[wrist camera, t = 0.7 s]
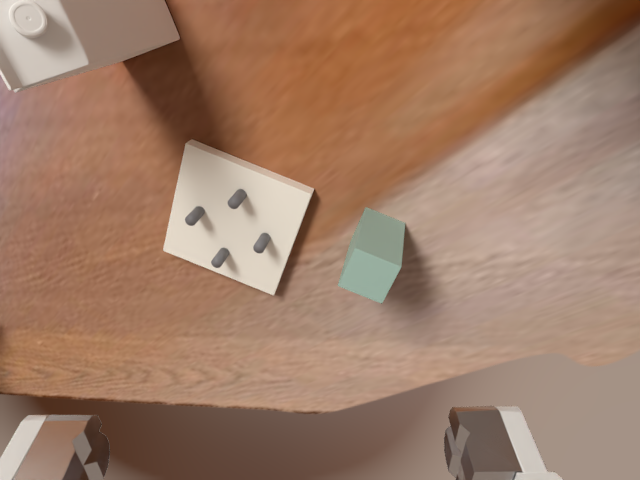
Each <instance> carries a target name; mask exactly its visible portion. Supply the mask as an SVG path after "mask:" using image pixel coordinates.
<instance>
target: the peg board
mask: <svg viewBox="0 0 640 480" xmlns="http://www.w3.org/2000/svg"><path fill="white" fill-rule="evenodd" d="M313 191H314V188H311V187H309V186H306V185H304V184H301V183H299V182H296V181H294V180H291V179H289V178H287V177H284V176H282V175H279V174H277V173H274V172H272V171H269V170H267V169H264V168H262V167H259V166H257V165H254V164H252V163H250V162H247V161H245V160H242V159H240V158H237V157H235V156H232V155H230V154H227V153H225V152H222V151H220V150H217V149H215V148H213V147H210V146H208V145H205V144H203V143H200V142H198V141H195V140H193V139H191V140H190V141H188V142H187V143H186V144H185V149H184V153H183V158H182V163H181V168H180V172H179V177H178V182H177V187H176V191H175V196H174V201H173V206H172V210H171V215H170V220H169V225H168V229H167V234H166V239H165V244H164V248H163V251H165V252H168V253H170V254H173V255H175V256H178V257H180V258H183V259H185V260H187V261H190V262H192V263H195V264H197V265H200V266H202V267H205V268H207V269H210V270H212V271H215V272H217V273H220V274H222V275H225V276H227V277H229V278H232V279H234V280H237V281H239V282H242V283H244V284H247V285H249V286H252V287H254V288H257V289H259V290H262V291H264V292H266V293H269V294H271V295H274V294H275V292H276V290H277V287H278V285H279V282H280V279H281V277H282V274H283V271H284V269H285V266H286V263H287V261H288V258H289V255H290V253H291V250H292V247H293V245H294V242H295V239H296V237H297V234H298V231H299V229H300V226H301V223H302V221H303V218H304V215H305V213H306V210H307V207H308V205H309V202H310V199H311V197H312V194H313Z"/></svg>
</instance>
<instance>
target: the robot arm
mask: <svg viewBox="0 0 640 480" xmlns="http://www.w3.org/2000/svg"><path fill="white" fill-rule="evenodd" d="M448 418H449V421H450V425H451V426H450V427H448V428H447V429H446V431H445V437H444V451H445V457H446V463H447V467H448V471H449V472H450V473H451V474H452V475H453V476H454V477H455V478H456V480H564V479H562V478H561V477H560V476H559V475H558V474H557V473H555V472H548V470H547V468H546V466H545V464H544V461H543V459H542V457H541V454H540V452H539V450H538V447H537V445H536V443H535V441H534V438H533V436H532V434H531V431H530V429H529V427H528V425H527V422H526V420H525V418H524V415H523V413H522V411H521V409H519V407H517V406H498V407H494V406H480V407H479V406H477V407H452V409H451V410H450V413H449V417H448ZM101 425H102V424H101V421H100V419H99V417H98V415H28V416H27V417H26V418H25V419H24V420H23V421H22V422H21V423H20V425H19V427H18V428H17V430H16V432H15V434H14V435H13V437H12V439H11V440H10V442H9V444H8V446H7V448H6V449H5V451H4V453H3V455H2V456H1V458H0V480H102V479H104V476H105V473H106V470H107V468H108V463H109V456H110V447H109V441H108V439H107V436H105V435H104V434H102V433H101V432H99V430H100V427H101Z"/></svg>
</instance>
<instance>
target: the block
mask: <svg viewBox="0 0 640 480" xmlns="http://www.w3.org/2000/svg"><path fill="white" fill-rule="evenodd" d="M404 232H405V223H404V222H401V221H399V220H396V219H394V218H391V217H389V216H387V215H384V214H382V213H379V212H377V211H374V210H372V209H369V208H367V207H366V208H365V210H364V212H363V215H362V217H361V219H360V221H359V223H358V226H357V228H356V230H355V232H354V235H353V237H352V239H351V242H350V245H349V249H348V252H347V256H346V259H345V262H344V266H343V269H342V273H341V276H340V280H339V283H338V286H339V287H342V288H344V289H347V290H349V291H352V292H354V293H357V294H359V295H362V296H364V297H367V298H369V299H372V300H374V301H376V302H379V303H381V304H382V303H383V301H384V299H385V297H386V295H387V293H388V291H389V290H390V288H391V286H392V284H393V282H394V280H395V278H396V276H397V274H398V272H399V271H400V269H401V266H402V255H403V244H404Z"/></svg>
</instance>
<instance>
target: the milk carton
mask: <svg viewBox="0 0 640 480" xmlns="http://www.w3.org/2000/svg"><path fill="white" fill-rule="evenodd" d="M179 39H180V37H179V34H178V31H177V29H176V26H175V24H174V22H173V19H172V17H171V14H170V12H169V10H168V7H167V5H166V2H165V0H0V75H1V77H2V78H3V80H4V82H5V84H6V85H7V87H8V89H9V90H14V91H15V93H16V92H19V91H23V90H26V89H30V88H33V87H37V86H40V85H43V84H47V83H50V82H54V81H57V80H61V79H64V78H67V77H71V76H74V75H78V74H81V73H85V72H88V71H91V70H95V69H98V68H102V67H105V66H109V65H112V64H115V63H119V62H122V61H125V60H127V59H130V58H132V57H135V56H138V55H140V54H143V53H146V52H148V51H151V50H153V49H156V48H159V47H161V46H164V45H167V44H169V43H172V42H175V41H177V40H179Z"/></svg>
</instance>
